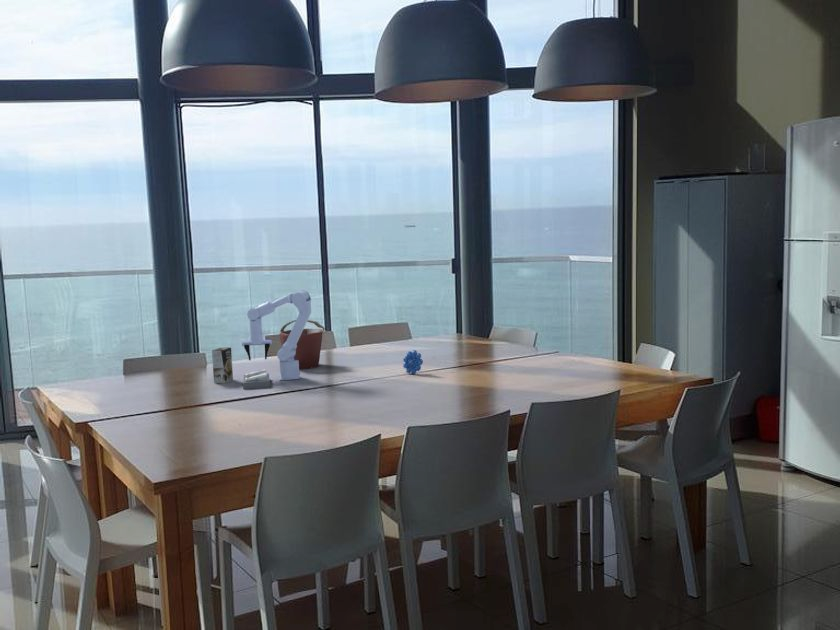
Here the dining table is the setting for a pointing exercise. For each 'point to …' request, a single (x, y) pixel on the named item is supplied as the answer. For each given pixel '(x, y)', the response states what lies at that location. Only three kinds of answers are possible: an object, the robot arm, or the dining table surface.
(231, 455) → the dining table surface
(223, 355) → the coffee box
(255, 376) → the rocker
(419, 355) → the blue lobed wheel
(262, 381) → the switch panel
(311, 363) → the bucket
